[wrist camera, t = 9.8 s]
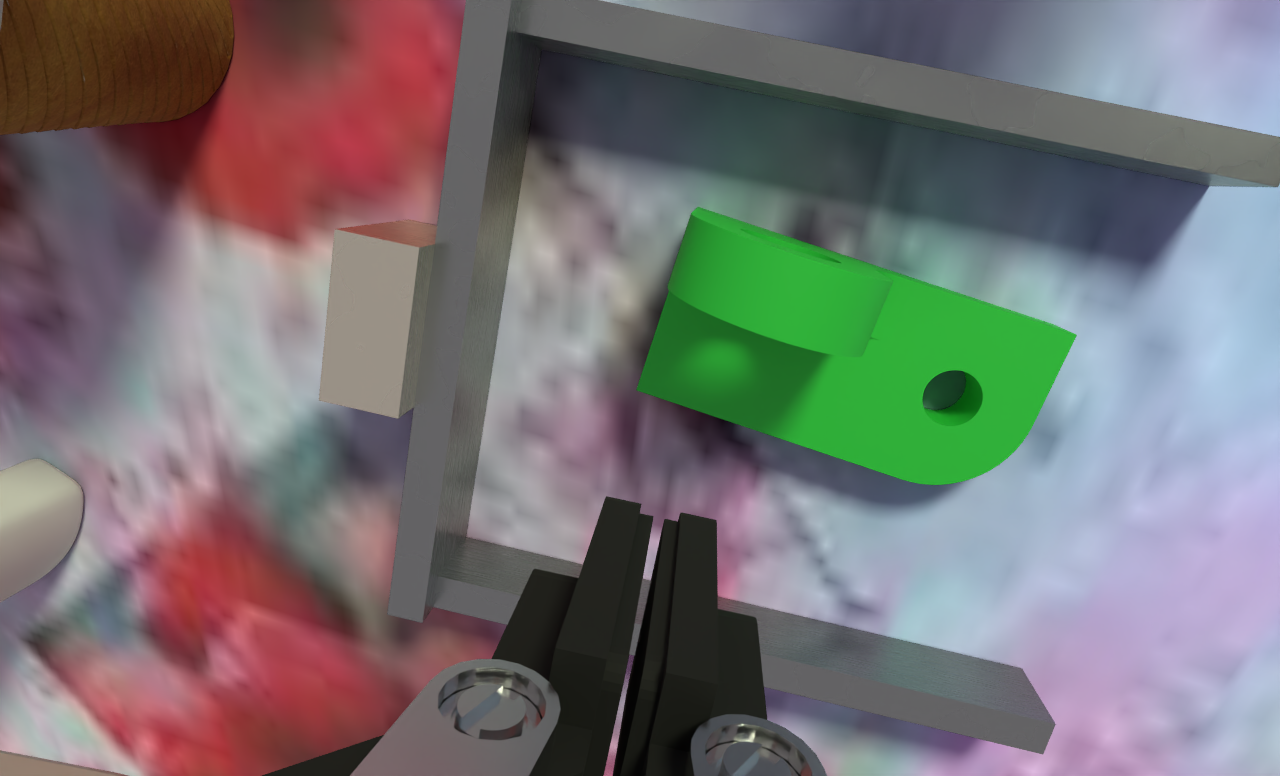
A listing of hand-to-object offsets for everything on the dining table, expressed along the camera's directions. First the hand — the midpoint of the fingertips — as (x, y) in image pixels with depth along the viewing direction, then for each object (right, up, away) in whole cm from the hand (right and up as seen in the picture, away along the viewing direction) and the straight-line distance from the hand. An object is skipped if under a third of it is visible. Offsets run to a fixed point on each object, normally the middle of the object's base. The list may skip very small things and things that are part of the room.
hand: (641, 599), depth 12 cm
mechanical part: (+7, +4, +15) cm, 17 cm away
